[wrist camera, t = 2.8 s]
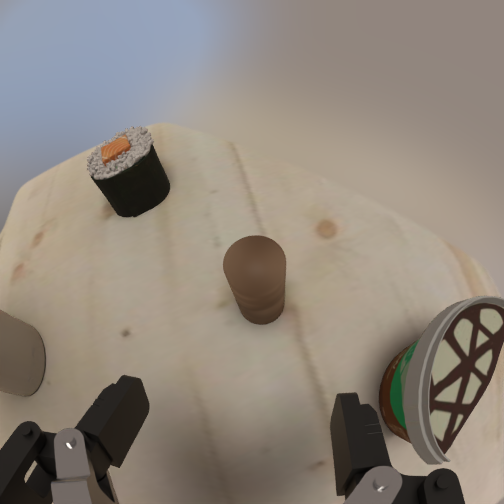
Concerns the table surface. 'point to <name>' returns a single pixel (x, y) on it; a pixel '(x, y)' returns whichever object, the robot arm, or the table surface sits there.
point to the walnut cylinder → (257, 277)
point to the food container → (443, 376)
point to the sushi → (129, 172)
